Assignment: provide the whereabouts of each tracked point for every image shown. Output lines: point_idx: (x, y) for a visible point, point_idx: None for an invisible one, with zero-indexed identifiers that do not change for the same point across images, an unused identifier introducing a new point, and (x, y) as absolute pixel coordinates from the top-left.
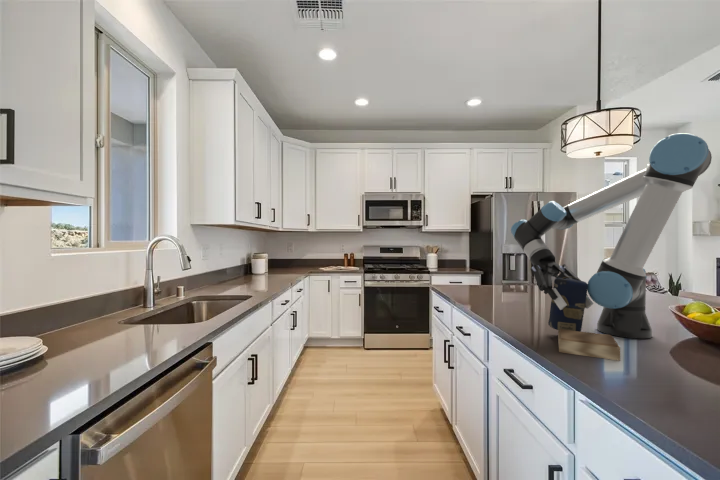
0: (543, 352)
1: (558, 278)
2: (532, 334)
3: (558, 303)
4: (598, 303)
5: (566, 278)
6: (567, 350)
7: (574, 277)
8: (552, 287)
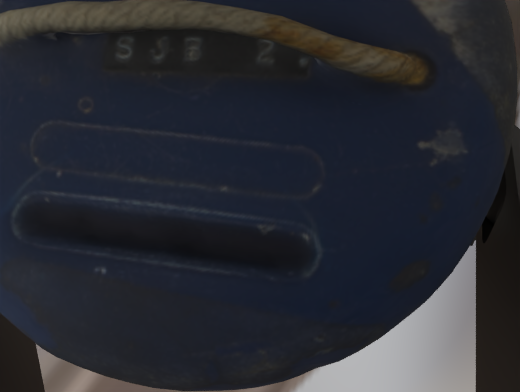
0: (511, 20)
1: (493, 108)
2: None
3: None
4: None
5: (135, 261)
6: None
7: (89, 3)
8: (515, 139)
